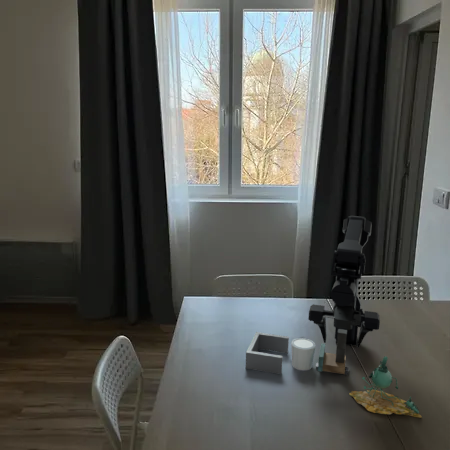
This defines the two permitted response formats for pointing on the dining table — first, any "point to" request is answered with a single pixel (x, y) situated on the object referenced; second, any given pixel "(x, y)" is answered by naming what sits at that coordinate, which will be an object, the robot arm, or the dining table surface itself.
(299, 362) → the white cylinder
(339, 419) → the dining table surface
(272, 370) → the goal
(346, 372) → the rail
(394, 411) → the gold and teal figure
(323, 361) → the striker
